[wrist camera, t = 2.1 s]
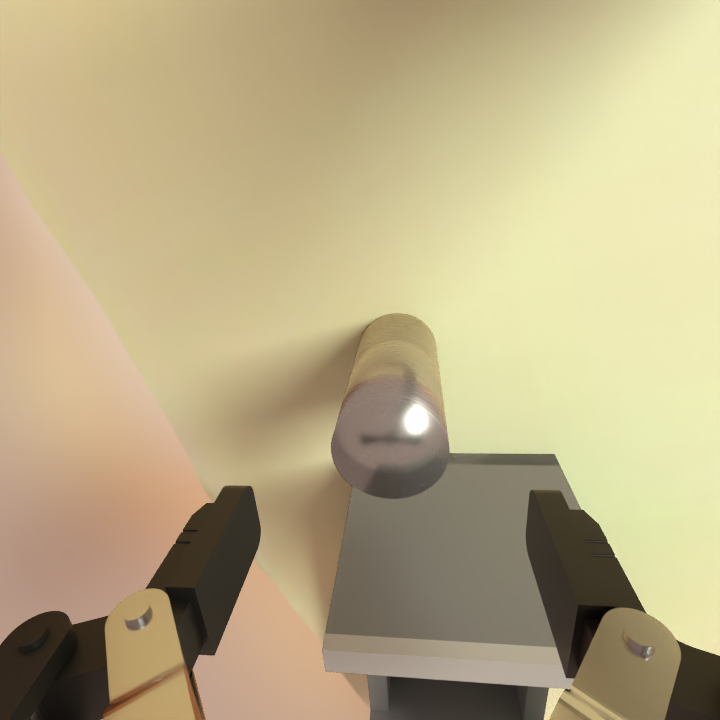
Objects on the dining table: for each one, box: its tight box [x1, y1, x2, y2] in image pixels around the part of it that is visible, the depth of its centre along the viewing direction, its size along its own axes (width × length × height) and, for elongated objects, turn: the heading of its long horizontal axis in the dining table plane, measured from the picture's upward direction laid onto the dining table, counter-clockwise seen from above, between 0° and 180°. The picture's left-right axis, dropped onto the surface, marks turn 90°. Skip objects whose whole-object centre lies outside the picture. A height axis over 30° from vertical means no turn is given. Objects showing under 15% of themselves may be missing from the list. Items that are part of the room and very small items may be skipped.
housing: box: [322, 454, 581, 720], centre depth 23 cm, size 19×20×12 cm
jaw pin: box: [331, 313, 449, 499], centre depth 19 cm, size 4×4×9 cm
